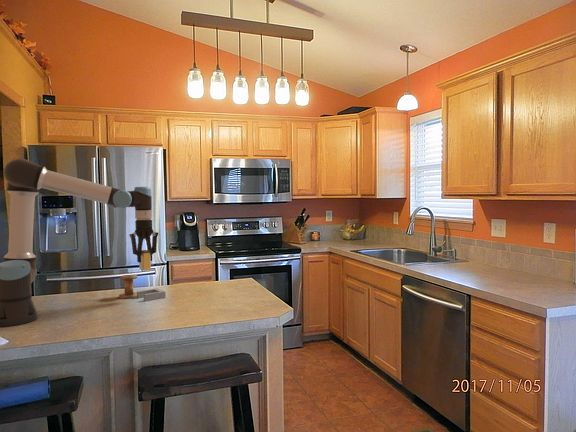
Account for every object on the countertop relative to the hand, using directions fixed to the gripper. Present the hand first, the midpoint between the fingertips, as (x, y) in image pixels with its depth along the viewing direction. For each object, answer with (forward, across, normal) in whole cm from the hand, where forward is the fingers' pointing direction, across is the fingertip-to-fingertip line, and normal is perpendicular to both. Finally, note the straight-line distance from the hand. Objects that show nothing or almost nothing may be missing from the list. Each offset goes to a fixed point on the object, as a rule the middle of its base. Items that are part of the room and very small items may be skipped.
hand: (145, 268), depth 198 cm
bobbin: (+14, -4, +10) cm, 18 cm away
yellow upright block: (0, 0, 0) cm, 0 cm away
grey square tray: (+14, +2, 0) cm, 15 cm away
